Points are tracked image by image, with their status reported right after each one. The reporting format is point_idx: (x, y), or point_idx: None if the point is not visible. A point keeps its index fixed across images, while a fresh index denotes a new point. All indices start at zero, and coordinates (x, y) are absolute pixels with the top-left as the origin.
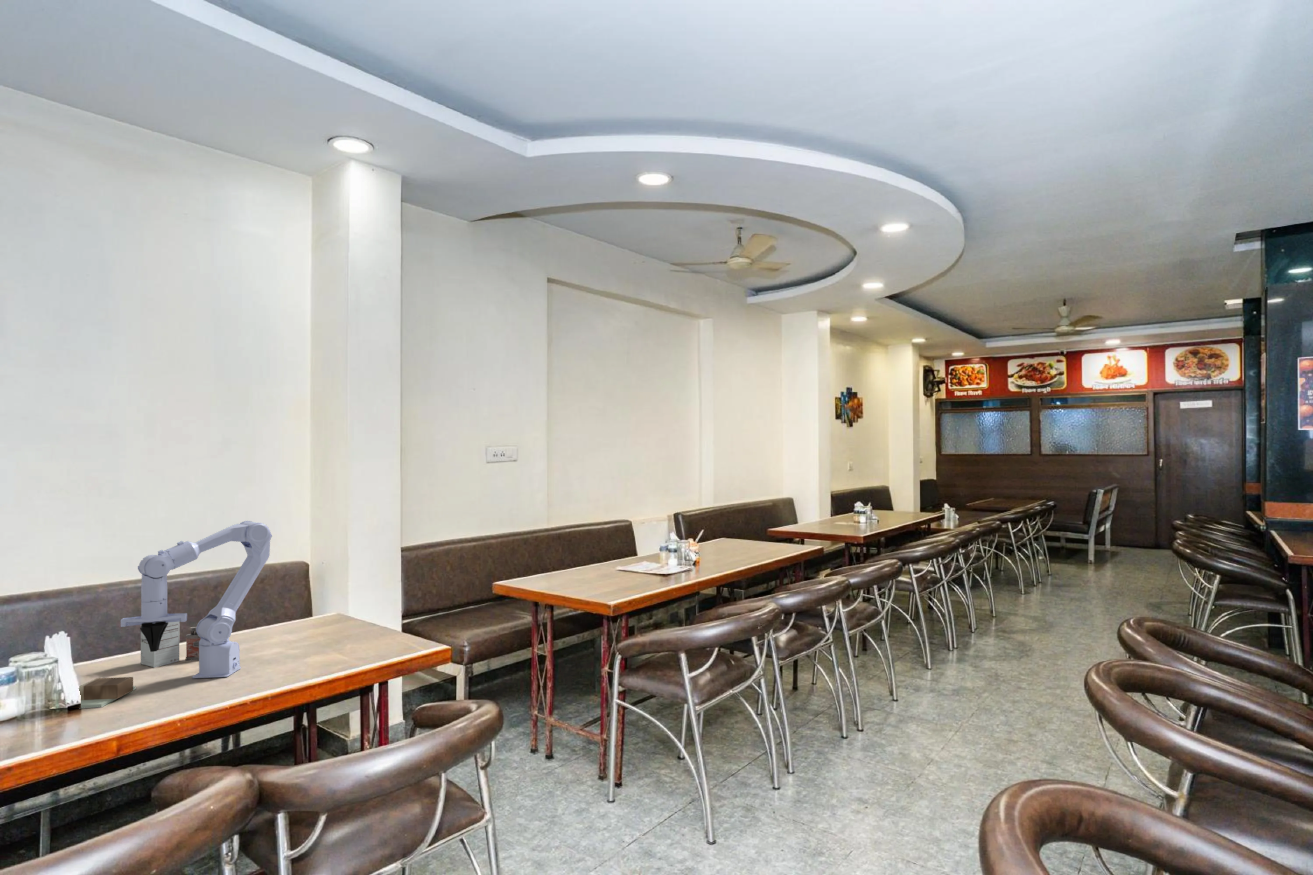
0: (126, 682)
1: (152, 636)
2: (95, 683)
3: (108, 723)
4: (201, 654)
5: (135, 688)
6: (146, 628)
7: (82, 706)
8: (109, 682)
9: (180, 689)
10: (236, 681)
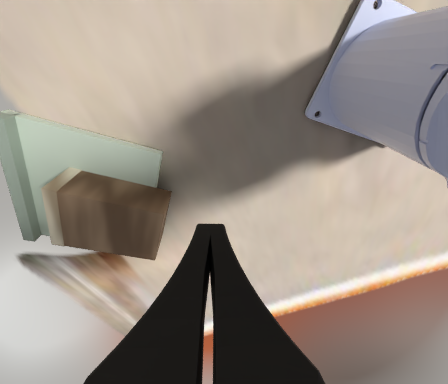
0: (161, 231)
1: (203, 332)
2: (83, 235)
3: None
4: (383, 138)
5: (162, 152)
6: None
7: None
8: (120, 238)
9: (277, 199)
10: (397, 189)
